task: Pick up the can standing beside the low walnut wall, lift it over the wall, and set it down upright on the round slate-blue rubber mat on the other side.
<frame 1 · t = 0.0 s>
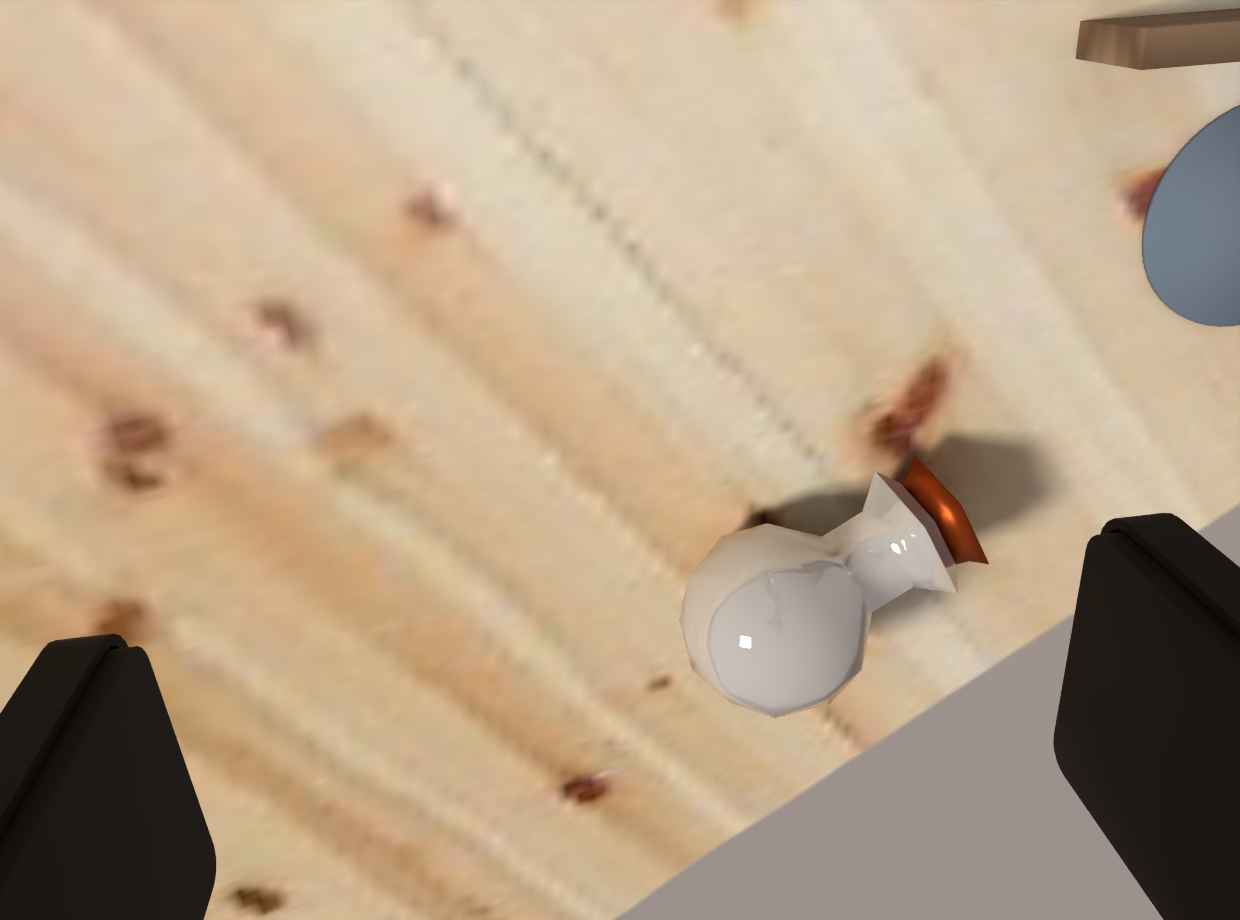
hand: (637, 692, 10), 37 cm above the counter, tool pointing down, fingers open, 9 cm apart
potion bottle: (797, 538, 54), on the counter
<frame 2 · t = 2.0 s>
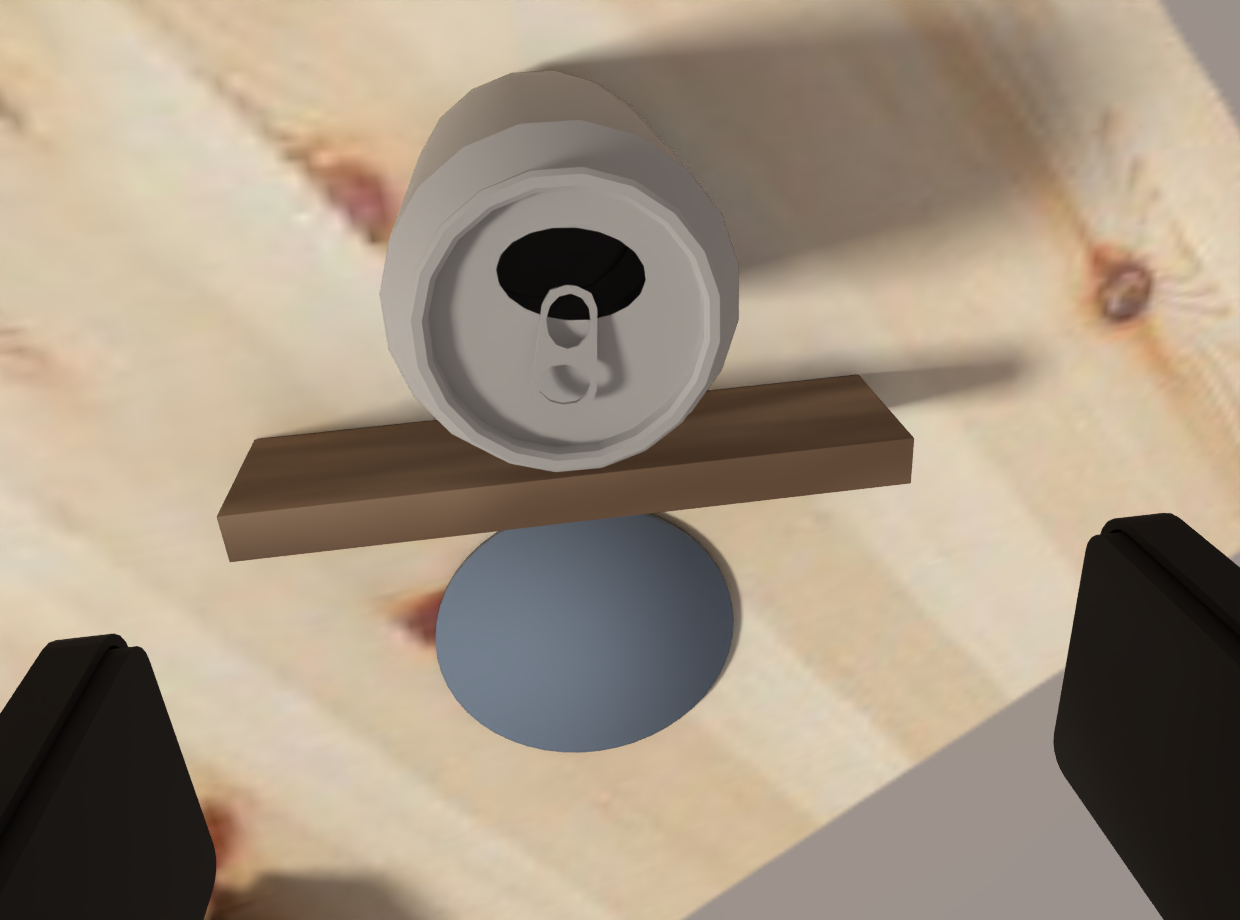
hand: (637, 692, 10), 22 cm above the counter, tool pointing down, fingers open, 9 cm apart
low wall: (565, 427, 33), on the counter
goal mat: (586, 633, 37), on the counter
can: (541, 199, 30), on the counter
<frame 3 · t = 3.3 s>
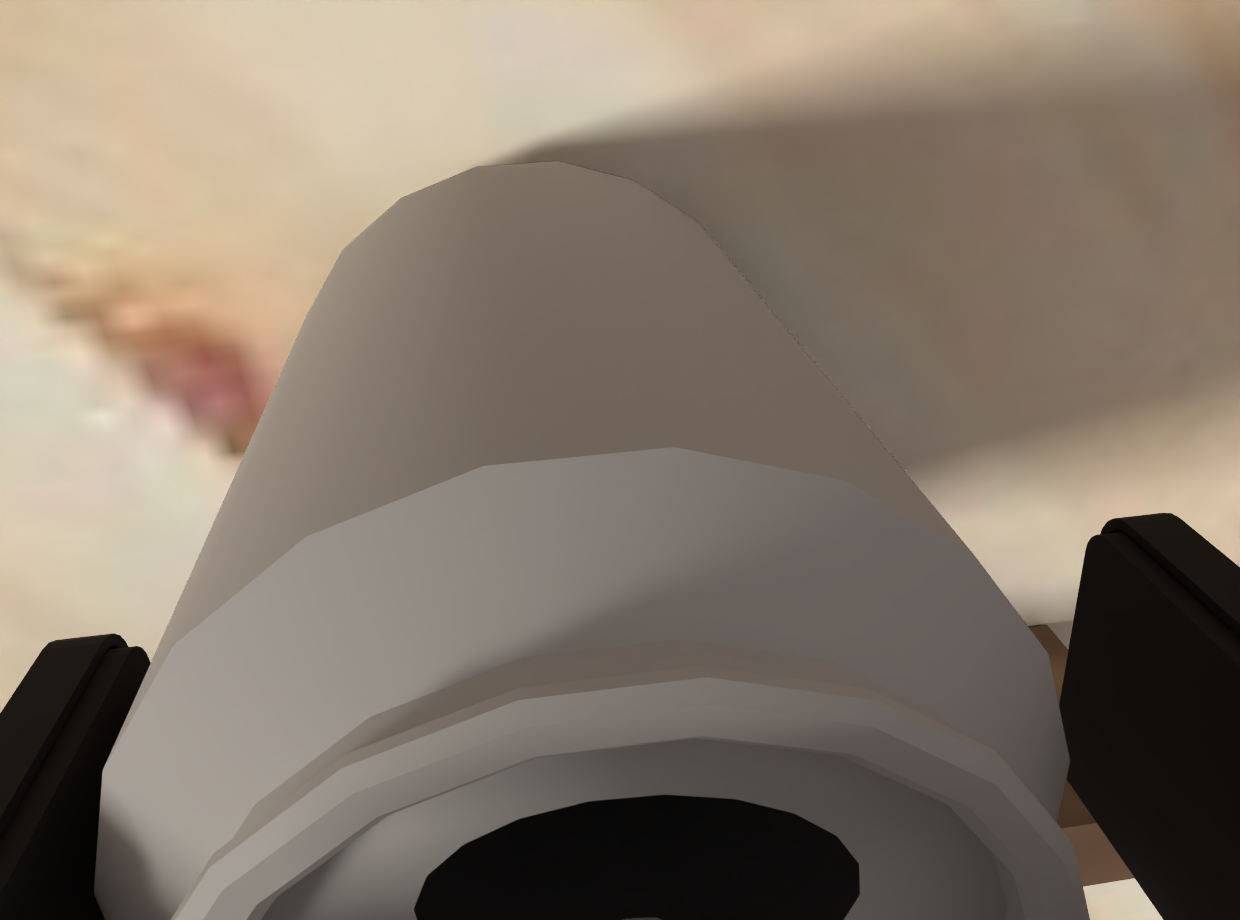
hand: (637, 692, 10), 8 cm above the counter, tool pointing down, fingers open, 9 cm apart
low wall: (573, 719, 20), on the counter
can: (534, 373, 17), on the counter
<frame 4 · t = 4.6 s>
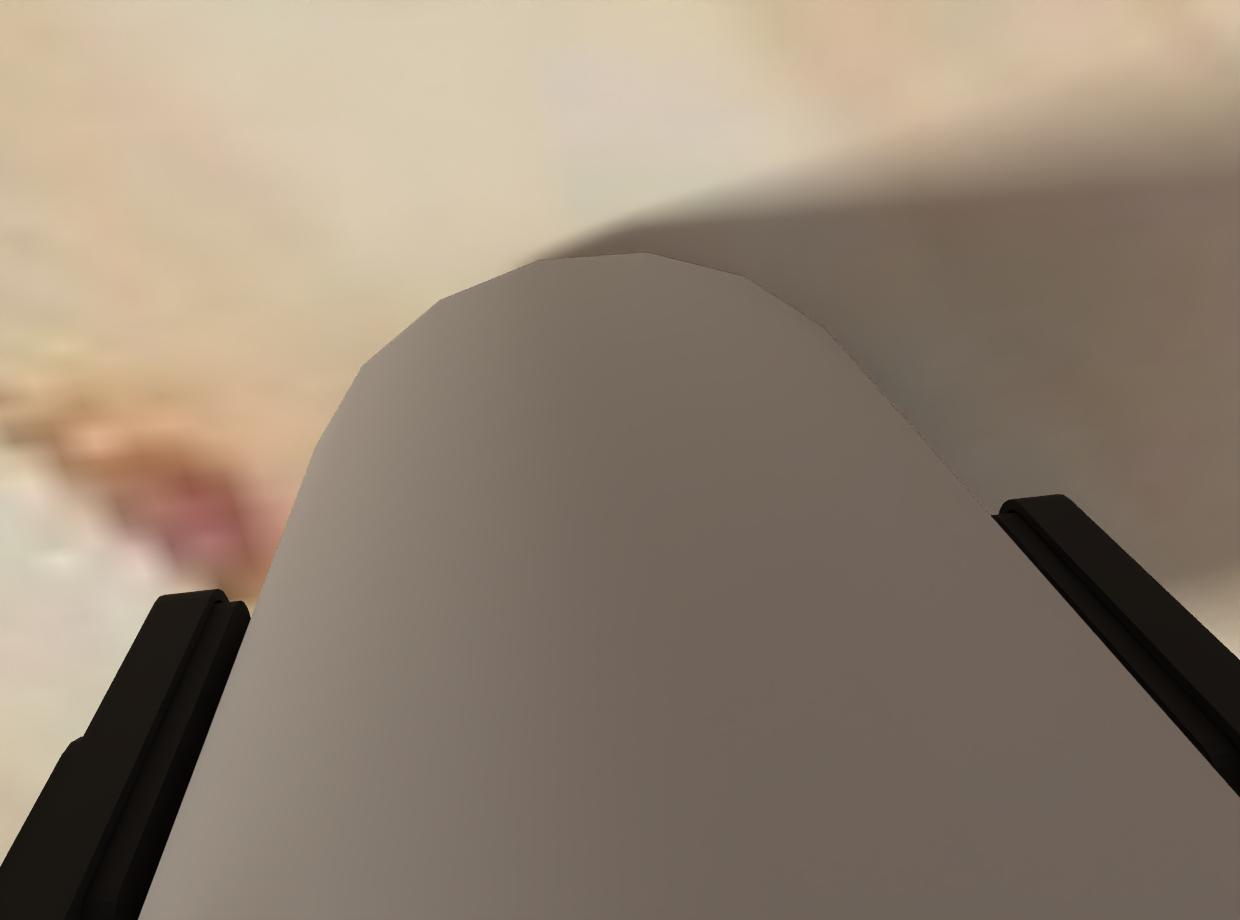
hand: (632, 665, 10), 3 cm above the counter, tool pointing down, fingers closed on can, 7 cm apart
can: (601, 503, 14), on the counter, touching gripper
when the fingers open (5 cm above the counter, at t = 11.2 s): can drops 1 cm, resting on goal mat.
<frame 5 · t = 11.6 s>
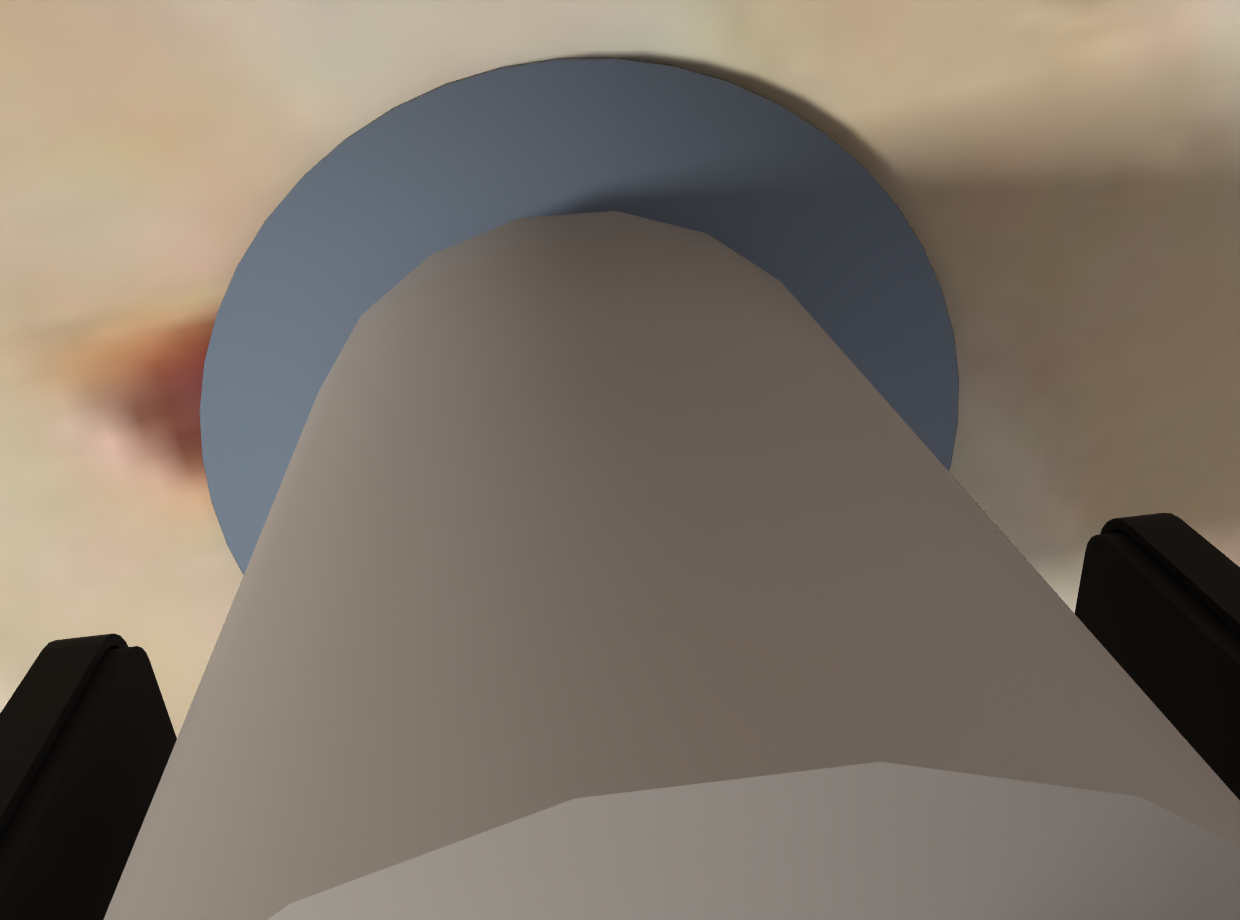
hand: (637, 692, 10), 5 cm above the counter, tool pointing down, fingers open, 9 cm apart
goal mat: (592, 452, 15), on the counter
can: (581, 448, 15), resting on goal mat
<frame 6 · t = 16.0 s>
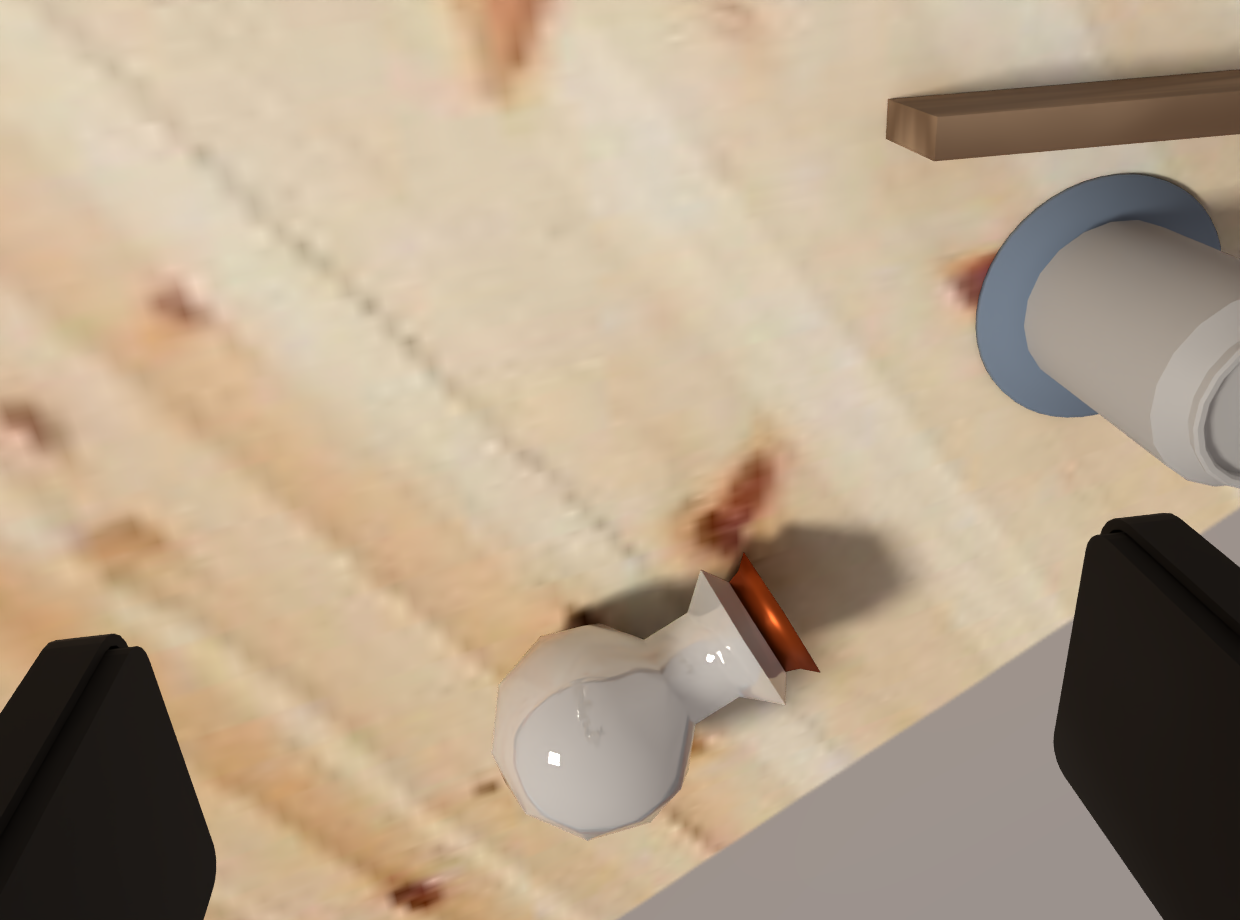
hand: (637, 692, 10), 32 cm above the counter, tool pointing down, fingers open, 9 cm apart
low wall: (1128, 98, 40), on the counter
potion bottle: (632, 633, 50), on the counter
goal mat: (1096, 300, 44), on the counter
can: (1095, 298, 44), resting on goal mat
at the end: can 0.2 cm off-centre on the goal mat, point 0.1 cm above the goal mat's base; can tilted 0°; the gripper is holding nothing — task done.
